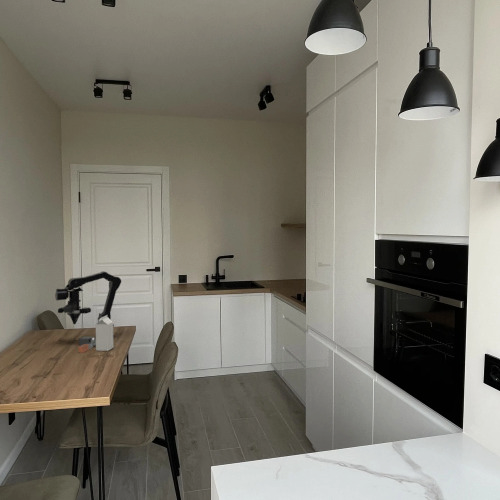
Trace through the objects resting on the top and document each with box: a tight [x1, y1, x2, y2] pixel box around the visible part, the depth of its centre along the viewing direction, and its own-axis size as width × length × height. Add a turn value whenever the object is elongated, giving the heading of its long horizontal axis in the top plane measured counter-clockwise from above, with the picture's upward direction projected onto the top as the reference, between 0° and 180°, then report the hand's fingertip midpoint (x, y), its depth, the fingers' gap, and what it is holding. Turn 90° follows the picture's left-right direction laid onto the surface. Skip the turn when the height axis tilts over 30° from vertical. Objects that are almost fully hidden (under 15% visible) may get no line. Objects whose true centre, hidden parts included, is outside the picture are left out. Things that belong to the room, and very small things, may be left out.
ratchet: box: [78, 336, 96, 354], centre depth 233 cm, size 16×8×5 cm, turn 173°
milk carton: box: [95, 315, 114, 352], centre depth 231 cm, size 7×7×19 cm
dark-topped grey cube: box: [78, 336, 92, 347], centre depth 238 cm, size 5×6×5 cm
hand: (74, 324), depth 247 cm, fingers closed
